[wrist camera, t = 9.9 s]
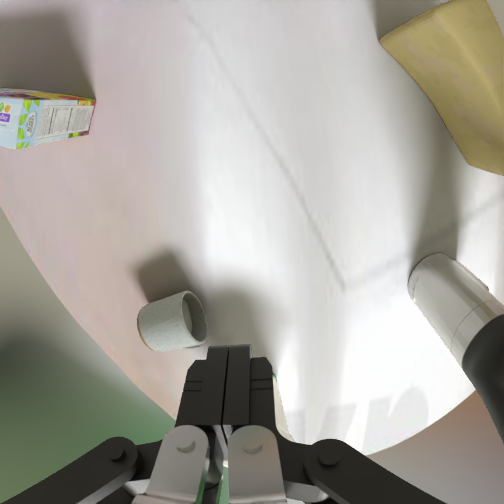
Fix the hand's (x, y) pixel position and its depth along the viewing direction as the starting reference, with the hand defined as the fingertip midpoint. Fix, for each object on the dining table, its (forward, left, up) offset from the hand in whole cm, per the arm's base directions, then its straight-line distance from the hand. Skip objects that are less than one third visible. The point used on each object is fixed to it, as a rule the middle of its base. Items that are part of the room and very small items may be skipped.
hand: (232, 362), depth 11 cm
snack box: (+29, -17, -29) cm, 45 cm away
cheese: (-28, -13, -29) cm, 42 cm away
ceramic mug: (+11, +18, -29) cm, 36 cm away
